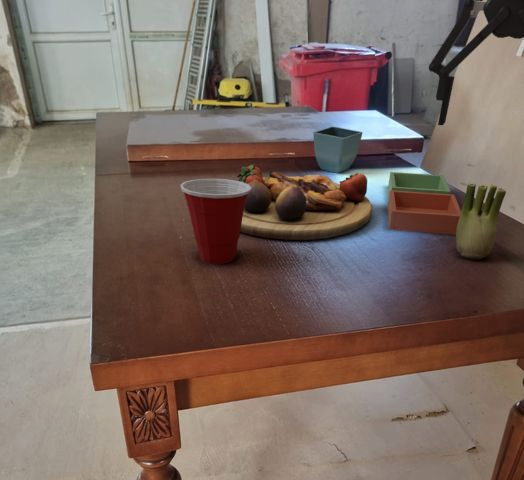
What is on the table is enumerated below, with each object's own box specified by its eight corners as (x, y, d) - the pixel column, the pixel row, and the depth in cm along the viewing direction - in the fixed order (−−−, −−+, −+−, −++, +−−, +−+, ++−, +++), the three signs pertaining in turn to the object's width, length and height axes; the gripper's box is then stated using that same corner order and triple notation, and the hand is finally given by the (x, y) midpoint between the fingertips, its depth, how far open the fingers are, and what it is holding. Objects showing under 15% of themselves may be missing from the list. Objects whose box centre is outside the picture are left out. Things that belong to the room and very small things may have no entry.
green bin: (440, 191, 117) (443, 175, 115) (446, 208, 108) (450, 191, 106) (387, 187, 119) (390, 171, 117) (389, 204, 109) (392, 187, 107)
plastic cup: (260, 249, 89) (261, 177, 82) (236, 275, 81) (236, 198, 74) (201, 240, 92) (198, 170, 85) (173, 264, 83) (167, 189, 77)
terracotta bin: (450, 212, 106) (454, 194, 104) (458, 235, 96) (463, 216, 94) (387, 207, 108) (389, 190, 106) (388, 229, 97) (392, 211, 95)
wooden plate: (370, 192, 116) (375, 153, 111) (373, 249, 90) (380, 202, 85) (228, 182, 119) (227, 144, 115) (191, 235, 93) (189, 189, 89)
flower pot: (340, 177, 125) (344, 137, 120) (309, 170, 129) (312, 131, 124) (358, 169, 130) (363, 131, 125) (329, 163, 135) (332, 126, 130)
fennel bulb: (447, 252, 89) (464, 181, 83) (468, 247, 91) (486, 178, 84) (472, 265, 85) (492, 192, 78) (494, 260, 87) (515, 188, 80)
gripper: (427, -47, 70) (400, 124, 82) (643, -48, 61) (578, 142, 73) (436, -43, 75) (410, 116, 87) (635, -44, 67) (576, 132, 79)
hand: (486, 128), depth 80 cm, fingers open, 13 cm apart
